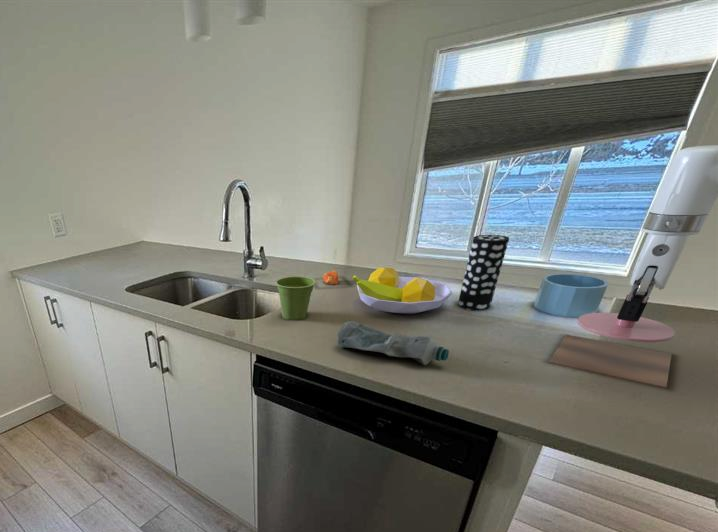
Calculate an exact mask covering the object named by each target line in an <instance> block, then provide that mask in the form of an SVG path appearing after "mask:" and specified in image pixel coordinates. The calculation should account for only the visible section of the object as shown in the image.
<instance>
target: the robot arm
mask: <svg viewBox="0 0 718 532" xmlns="http://www.w3.org/2000/svg"><path fill="white" fill-rule="evenodd" d="M717 199H718V144H715V145H714V144H713V145H696V146H689V147H685V148H682V149H680V150H679V151H677V152H676V154H674V156H673V158H672V159H671V162H670V163H669V166H668V168H667V171H666V173H665V175H664V177H663V179H662V182H661V184H660V187H659V189H658V191H657V193H656V196H655V197H654V200H653V203H652V204H651V207H650V209H649V211H648V214H647V216H646V218H645V221H644V223H643V225H642V227H641V229H640V231H641V232H643V233H646V234H647V236H646V238H645V241H644V243H643V245H642V247H641V250H640V252H639V255H638V257H637V259H636V262H635V266H634V267H633V271H632V274H631V278H630V281H629V285H630V287H632V288H631V290H630V291H631V292H630V291H629V293H630V294H629V293H628V294H626V297H625V299H624V301H623V303H622V305H621V308H620V309H619V312H618V317H617V319H620V320H627V321H633V322H637V321H639V319H640V317H642V314H643V313H644V311H645V309H646V308H647V305H648V301H649V299H650V295H651V293H652V291H653V289H654V287H655V288H658V290H660V291H661V290H664V289H665V287H666V286H667V283H668V281H669V279H670V277H671V275H672V273H673V271H674V270H675V267H676V265H677V263H678V261H679V259H680V257H681V255H682V253H683V251H684V249H685V246H686V244H687V241H688V240H689V237H690V236H695V235H698V234H699V233H701V230H702V228H703V226H704V225H705V222H706V221H707V219H708V217H709V214H710V212H711V211H712V209H713V206H714V205H715V202H716V200H717ZM628 295H629V297H628ZM632 296H633V297H632ZM627 297H628V299H627ZM626 299H627V300H626Z"/></svg>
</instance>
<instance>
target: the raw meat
mask: <svg viewBox="0 0 718 532" xmlns="http://www.w3.org/2000/svg"><path fill="white" fill-rule="evenodd" d="M322 281H323V282H324V283H325V284H328V285H331V286H335V285H338V284H339V275H338V271H337V270H332V271H329V272H326V273H324V274H323V276H322Z"/></svg>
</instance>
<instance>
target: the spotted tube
mask: <svg viewBox="0 0 718 532" xmlns="http://www.w3.org/2000/svg"><path fill="white" fill-rule="evenodd" d="M509 241H510V237H509V236H506V235H499V234H478V235H475V236H473V238H472V241H471V247H470V251H469V254H468V259H467V262H466V268H465V272H464V275H463V280H462V284H461V288H460V293H459V296H458V302H457V307H459V308H461V309H464V310H468V311H475V312H476V311H478V312H479V311H480V312H481V311H487V310H489V309H490V308H491V306H492V303H493V299H494V295H495V291H496V288H497V285H498V281H499V277H500V275H501V274H500V273H501V270H502V267H503V262H504V259H505V256H506V252H507V249H508V245H509Z"/></svg>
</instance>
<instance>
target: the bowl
mask: <svg viewBox="0 0 718 532" xmlns="http://www.w3.org/2000/svg"><path fill="white" fill-rule="evenodd" d="M609 284H610V283H609V281H607V280H606V279H604V278H601V277H597V276H592V275H588V274H580V273H551V274H548V275H544V276H543V277H542V279H541V282H540V285H539V288H538V291H537V293H536V298H535V300H534V304H533V307H534V309H536V310H538V311H540V312H541V313H546V314H548V315H552V316H558V317H563V318H579V317H580V316H582V315H585V314H590V313H598V310H599V308H600V305H601V303H602V300H603V298H604V296H605V294H606V291H607V289H608V286H609Z"/></svg>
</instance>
